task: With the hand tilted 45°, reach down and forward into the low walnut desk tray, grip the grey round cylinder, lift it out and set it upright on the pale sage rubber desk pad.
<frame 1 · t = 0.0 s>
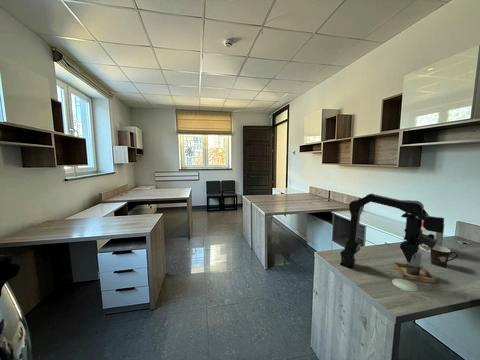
hand: (410, 258, 100), 15 cm above the table, tool pointing down, fingers open, 9 cm apart
grey round cylinder: (412, 273, 112), resting on walnut tray
hard drive box: (424, 249, 141), on the table
walnut tray: (412, 274, 112), on the table
desk pad: (404, 285, 103), on the table
coffee mug: (441, 266, 120), on the table
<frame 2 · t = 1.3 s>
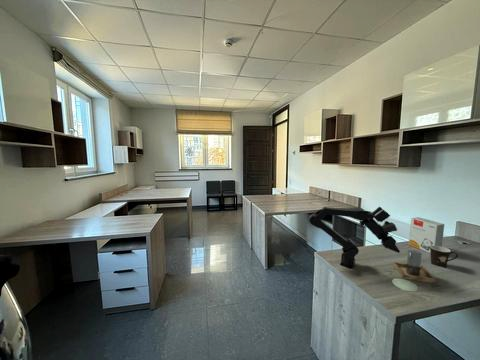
hand: (396, 248, 113), 14 cm above the table, tool tilted 45°, fingers open, 9 cm apart
nothing on the table moved.
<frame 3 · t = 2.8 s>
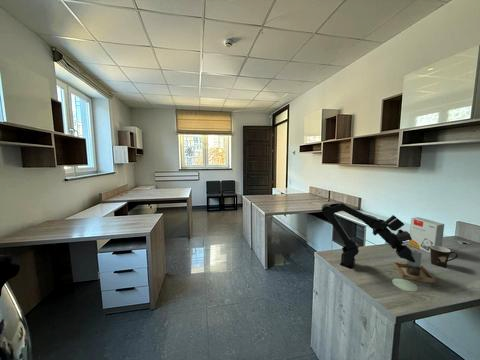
hand: (410, 257, 111), 9 cm above the table, tool tilted 45°, fingers open, 9 cm apart
nothing on the table moved.
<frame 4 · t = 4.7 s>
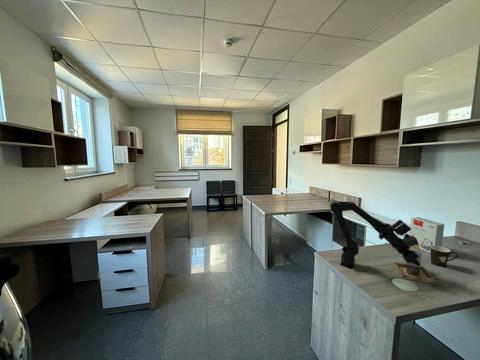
hand: (417, 262, 111), 7 cm above the table, tool tilted 45°, fingers closed on grey round cylinder, 6 cm apart
grey round cylinder: (412, 273, 112), resting on walnut tray, touching gripper
everything else where it was.
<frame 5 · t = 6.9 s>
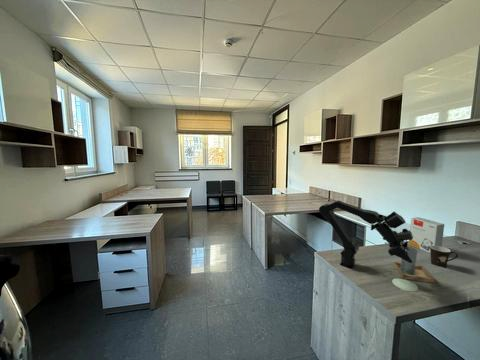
hand: (412, 260, 101), 13 cm above the table, tool tilted 45°, fingers closed on grey round cylinder, 6 cm apart
grey round cylinder: (407, 271, 103), point 7 cm above the table, touching gripper
everything else where it was.
when the fingers open (9 cm above the table, at t = 9.1 s): grey round cylinder drops 1 cm, resting on desk pad.
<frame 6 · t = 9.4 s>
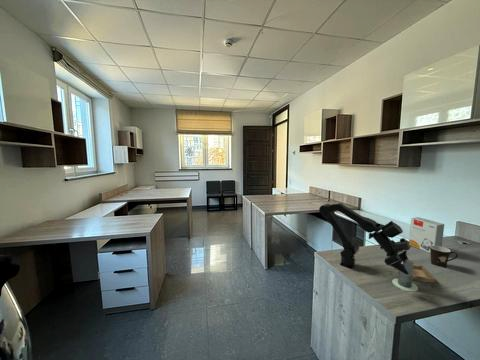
hand: (409, 270, 101), 9 cm above the table, tool tilted 45°, fingers open, 9 cm apart
grey round cylinder: (404, 284, 103), point 1 cm above the table, touching desk pad
everything else where it was.
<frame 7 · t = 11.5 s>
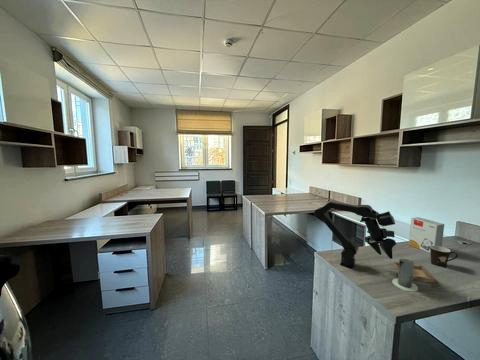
hand: (385, 256, 109), 11 cm above the table, tool tilted 25°, fingers open, 9 cm apart
nothing on the table moved.
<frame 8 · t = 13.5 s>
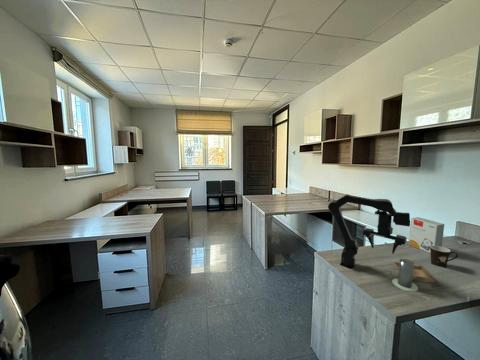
hand: (382, 250, 112), 13 cm above the table, tool pointing down, fingers open, 9 cm apart
nothing on the table moved.
at the end: grey round cylinder 0.0 cm off-centre on the desk pad, point 0.6 cm above the desk pad's base; grey round cylinder tilted 0°; the gripper is holding nothing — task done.
